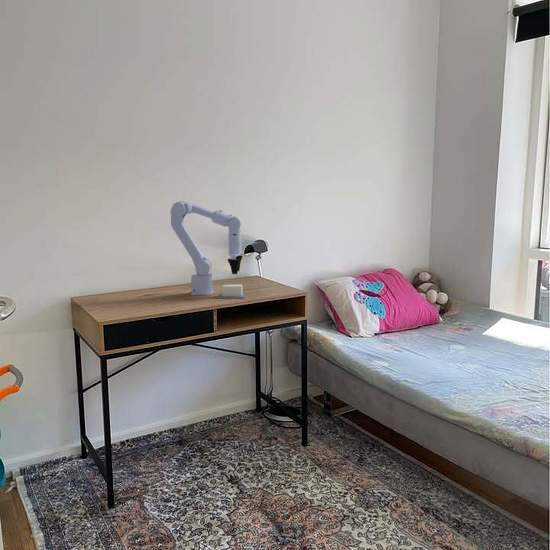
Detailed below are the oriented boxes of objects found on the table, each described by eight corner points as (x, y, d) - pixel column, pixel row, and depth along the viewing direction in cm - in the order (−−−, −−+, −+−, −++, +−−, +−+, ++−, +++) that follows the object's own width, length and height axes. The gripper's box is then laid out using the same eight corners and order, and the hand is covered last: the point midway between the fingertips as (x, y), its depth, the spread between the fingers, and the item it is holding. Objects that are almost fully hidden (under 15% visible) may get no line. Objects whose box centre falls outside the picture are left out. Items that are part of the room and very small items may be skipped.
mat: (217, 298, 242) (217, 297, 242) (219, 294, 251) (219, 293, 250) (244, 298, 241) (244, 297, 241) (245, 293, 250) (245, 293, 250)
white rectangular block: (241, 296, 244) (241, 286, 243) (222, 296, 244) (222, 286, 243) (242, 294, 248) (242, 284, 247) (223, 294, 248) (223, 284, 247)
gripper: (241, 245, 242) (242, 275, 244) (245, 241, 256) (246, 269, 259) (225, 245, 242) (226, 275, 245) (230, 241, 257) (231, 269, 259)
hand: (235, 272), depth 252 cm, fingers open, 7 cm apart
